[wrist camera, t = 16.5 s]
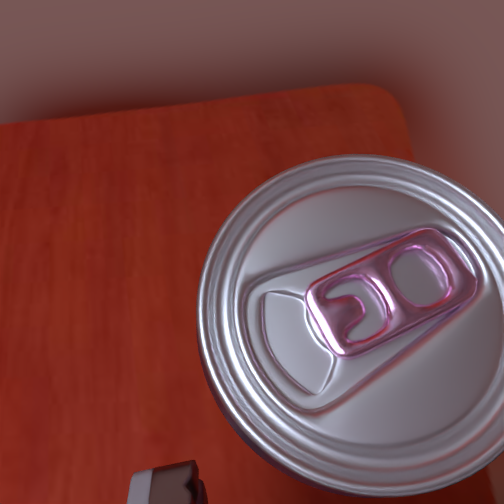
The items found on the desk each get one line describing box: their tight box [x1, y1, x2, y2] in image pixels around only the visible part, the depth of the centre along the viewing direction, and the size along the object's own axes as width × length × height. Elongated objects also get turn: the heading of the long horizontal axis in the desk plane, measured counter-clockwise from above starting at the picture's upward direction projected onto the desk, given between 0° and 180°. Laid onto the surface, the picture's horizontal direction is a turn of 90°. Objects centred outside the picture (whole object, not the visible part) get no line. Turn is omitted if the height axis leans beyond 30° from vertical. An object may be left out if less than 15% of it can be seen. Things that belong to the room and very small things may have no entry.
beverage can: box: [196, 154, 504, 498], centre depth 14 cm, size 6×6×15 cm
